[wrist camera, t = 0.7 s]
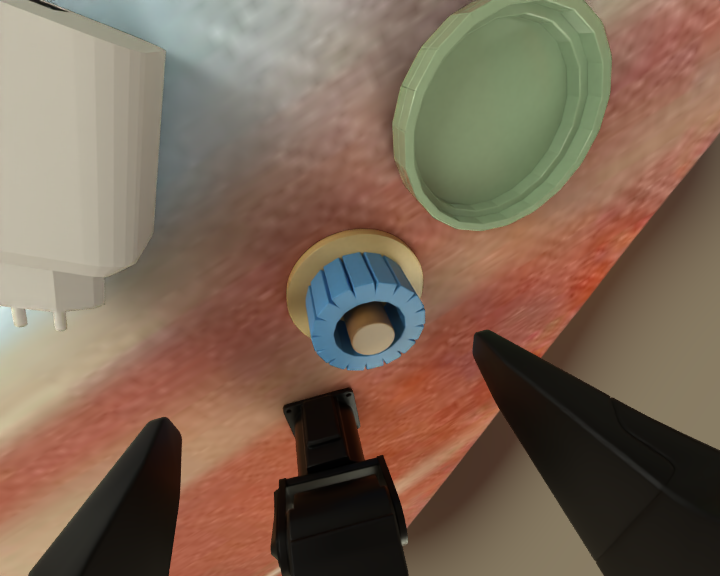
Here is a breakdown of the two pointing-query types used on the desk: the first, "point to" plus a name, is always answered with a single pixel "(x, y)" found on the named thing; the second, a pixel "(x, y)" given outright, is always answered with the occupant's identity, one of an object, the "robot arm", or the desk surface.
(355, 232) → the tape holder
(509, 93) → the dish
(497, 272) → the desk surface
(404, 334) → the blue gear
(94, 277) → the charger
